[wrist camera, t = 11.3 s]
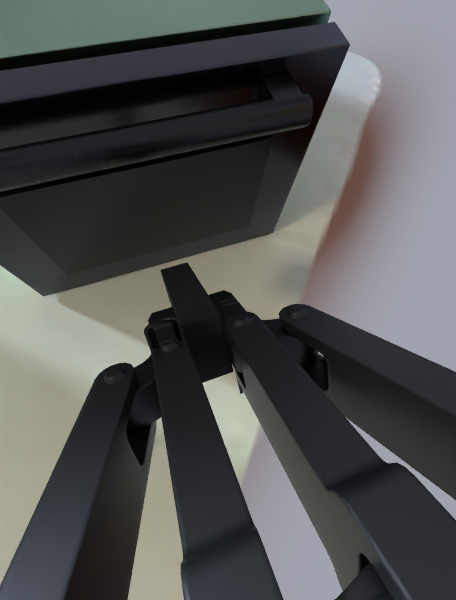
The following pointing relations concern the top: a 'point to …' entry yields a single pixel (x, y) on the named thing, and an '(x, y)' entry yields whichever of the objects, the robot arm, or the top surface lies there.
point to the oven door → (155, 151)
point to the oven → (136, 25)
